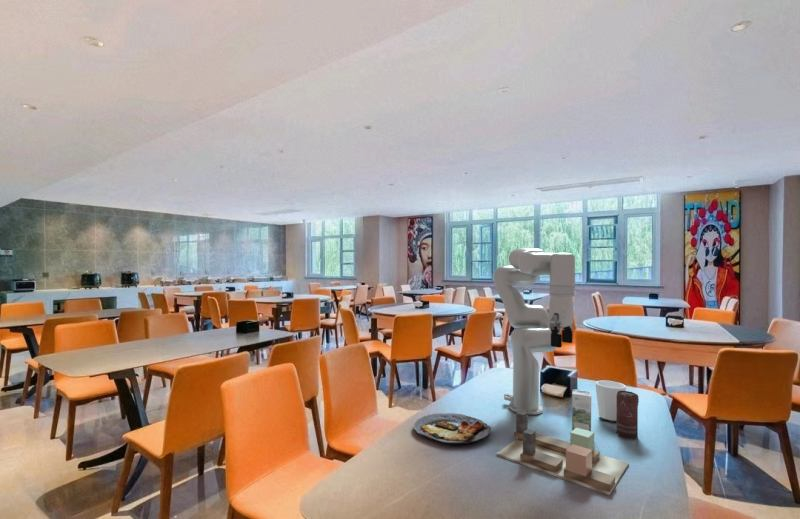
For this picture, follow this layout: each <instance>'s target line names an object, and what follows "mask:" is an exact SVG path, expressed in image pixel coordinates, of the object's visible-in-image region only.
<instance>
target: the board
mask: <svg viewBox="0 0 800 519" xmlns="http://www.w3.org/2000/svg"><path fill="white" fill-rule="evenodd" d="M535 451H537V452H541V453H544V454H547V455H550V456H553V457H556V458H559V459H562V460H563V466H562V467H561V468H560V469H559V470H558V471H557V472H554V471H551V470H549V469H546V468H543V467H540V466H537V465H534V464H531V463H528V462H526V461H523V460H520V454H521V453H523V440H520V439H517V438H515V439H514V440H513V441H512V442H511V443H508V445H507V446H505V447H503V448H502V449H501V450H499V451H498V452H497V453H496V456H497V457H500V458H503V459H505V460H509V461H512V462H514V463H517V464H519V465H523V466H525V467H528V468H531V469H532V470H533V469H534V470H537V471H540V472H542V473H545V474H548V475H552V476H554V477H557V478H559V479H562V480H565V481H568V482H570V483H572V484H573V483H574V484H575V485H578V486H581V487H585V488H587V489H589V490H593V491H596V492H598V493H602V494H604V495H607V496H610V495H611V494H612V492H613V490H614V489H615V487H616V485H617V484H618V483H619V482H620V479H621V478H622V476H623V475H624V473H626V470H627V469H628V467H629V465H630V464H629V462H625V461H623V460H619V459H616V458H613V457H609V456H607V455H606V456H605V455H602V454H600V457H599V458H598V459H597V460H596V461H595V463H594V462H592V469H593V470H596V471H599V472H602V473H605V474H609V475H612V476H615V485H614V486H613V488H612V489H611V491H610V492H608V491H605V490H603V489H600V488H597V487H594V486H591V485H588V484H585V483H582V482H580V481H577V480H574V479H571V478H568V477H565V476H564V468H565V467H566V454H565V453H562V452H559V451H555V450H552V449H549V448H546V447H543V446H539V445H536V447H535Z"/></svg>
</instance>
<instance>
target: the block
mask: <svg viewBox="0 0 800 519" xmlns="http://www.w3.org/2000/svg"><path fill="white" fill-rule="evenodd" d="M566 470H568V471H571V472H574V473H577V474H580V475H583V476H587V475H588V473H589V472H590V471H591V470H592V450H591V449H587V448H584V447H580V446H577V445H574V444H572V445H571V446H570V447H569V448H568V449H567V450H566Z"/></svg>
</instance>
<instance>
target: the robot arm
mask: <svg viewBox="0 0 800 519" xmlns="http://www.w3.org/2000/svg"><path fill="white" fill-rule="evenodd" d="M508 262H509V264H510V265H501V266H498V267H497V268H495V269H494V272H493V286H494V288H495V291H496V292H497V295H498V296H499V298H500V300H501V301H502V303H503V307H504V311H505V313H506V317H507V320H508V323H509V324H510V326H511V327H512V328H514V329H513V330H512V331H511V333H510V344H511V350H512V351H511V352H512V394H509V393H504V395H503V399H504V400H505V401H509V404H508V409H509V410H511V411H512V412H514V413H515V414H516V413H517V412H519V411H523V412H527V416H536V415H540V414H543V412H544V408H543V406H542V405H540V404H539V401H540V399H539V398H540V397H539V395H540V394H539V392H540V391H539V390H540V389H539V388H540V382H539V381H540V379H539V378H540V373H539V372H540V368H539V367H540V365H539V362H538V360H537V358H536V357H535V356H534V355H533V354H534V353H550V352H554V351H556V350H557V349H558V348H562V346H563V343H567V344H573V330H574V327H573V325H574V299H573V297H575V296H576V294H575V293H576V290H575V289H576V288H575V287H576V286H575V285H576V284H575V283H576V256H575V255H574V254H573V253H571V252H545V251H544V250H543V249H541V248H523V247H522V248H520V247H519V248H516V249H514V250H512V251H511V252H510V253H509V255H508ZM540 276H549V296H550V298H549V305H548V310H547V309H546V308H545V307H544V306H542V305H540V304H527V303H526V301H525V299H524V296H523V295H522V293H521V292H520V291H519V290H518V289H517V288H515V287H516V286H518V287H519V286H520V287H521V286H523V287H524V286H533V285H534V284H536V282H537V280H538V279H539V277H540ZM513 286H515V287H513Z"/></svg>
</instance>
